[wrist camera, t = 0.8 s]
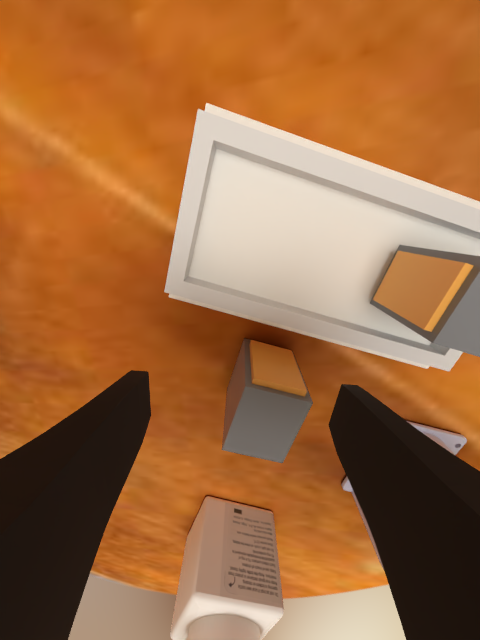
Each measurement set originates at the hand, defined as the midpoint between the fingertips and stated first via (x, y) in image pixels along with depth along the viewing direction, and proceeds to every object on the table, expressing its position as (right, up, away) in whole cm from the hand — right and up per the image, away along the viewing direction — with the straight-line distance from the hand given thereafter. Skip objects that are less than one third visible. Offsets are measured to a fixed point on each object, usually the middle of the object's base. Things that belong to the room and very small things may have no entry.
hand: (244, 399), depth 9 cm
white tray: (+6, +7, +7) cm, 12 cm away
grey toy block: (+12, +5, +7) cm, 15 cm away
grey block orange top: (+1, -1, +11) cm, 11 cm away
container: (-1, -20, +19) cm, 27 cm away
